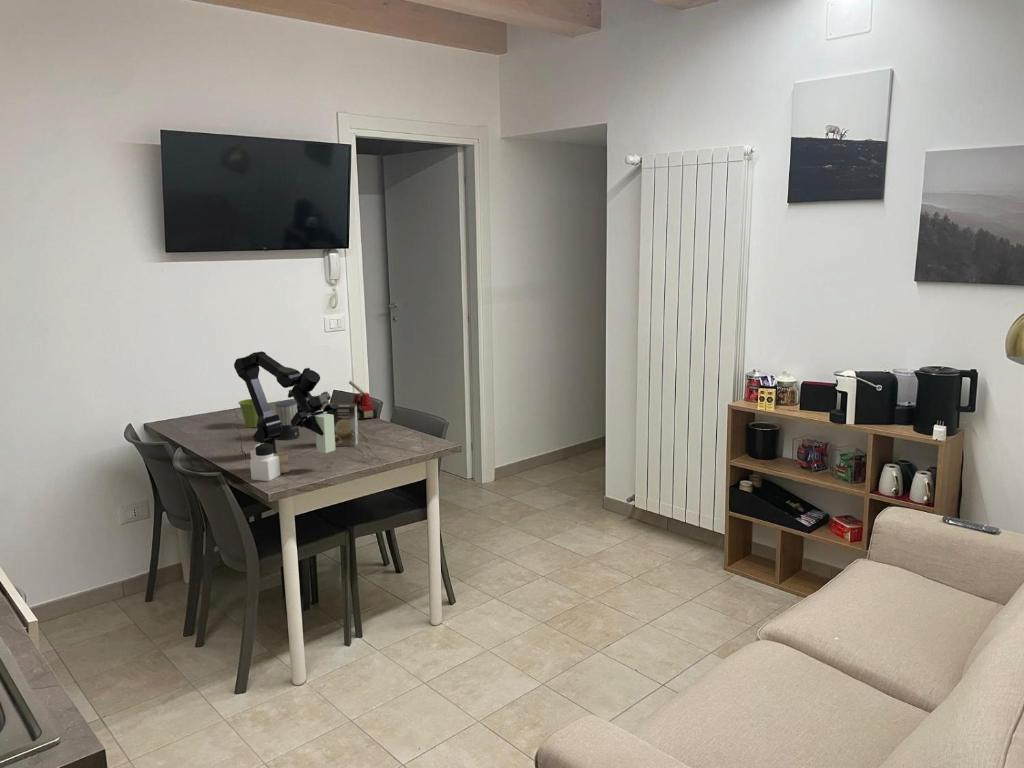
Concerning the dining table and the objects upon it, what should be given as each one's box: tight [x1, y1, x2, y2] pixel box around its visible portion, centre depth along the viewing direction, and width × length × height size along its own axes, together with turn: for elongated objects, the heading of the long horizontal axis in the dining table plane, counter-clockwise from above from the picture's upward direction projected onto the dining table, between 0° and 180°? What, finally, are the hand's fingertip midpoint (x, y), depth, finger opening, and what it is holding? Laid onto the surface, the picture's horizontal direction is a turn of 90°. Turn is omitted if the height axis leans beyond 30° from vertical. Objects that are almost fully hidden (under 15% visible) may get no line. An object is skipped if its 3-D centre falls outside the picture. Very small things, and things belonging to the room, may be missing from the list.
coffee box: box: [334, 403, 359, 447], centre depth 306 cm, size 9×6×16 cm
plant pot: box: [237, 398, 258, 429], centre depth 337 cm, size 12×12×11 cm
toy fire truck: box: [348, 380, 378, 421], centre depth 352 cm, size 11×16×18 cm
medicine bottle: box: [249, 443, 281, 482], centre depth 265 cm, size 7×7×12 cm
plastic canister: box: [249, 448, 256, 460], centre depth 275 cm, size 5×5×7 cm
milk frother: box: [274, 399, 303, 441], centre depth 320 cm, size 14×16×15 cm
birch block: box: [273, 452, 290, 474], centre depth 273 cm, size 5×5×6 cm
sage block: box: [315, 413, 336, 454], centre depth 273 cm, size 5×5×13 cm
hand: (327, 433), depth 272 cm, fingers closed on sage block, 5 cm apart
